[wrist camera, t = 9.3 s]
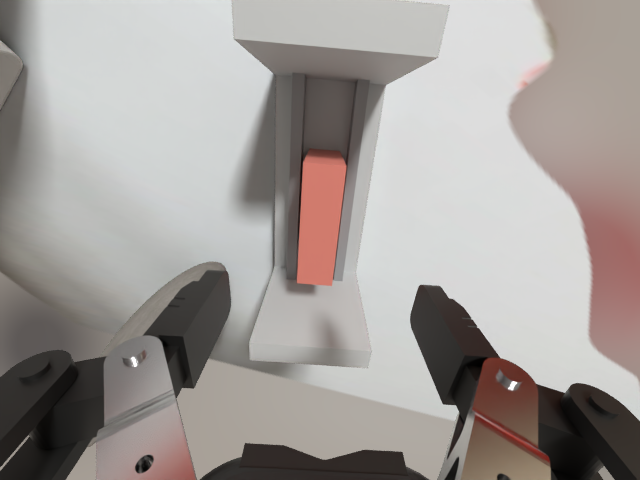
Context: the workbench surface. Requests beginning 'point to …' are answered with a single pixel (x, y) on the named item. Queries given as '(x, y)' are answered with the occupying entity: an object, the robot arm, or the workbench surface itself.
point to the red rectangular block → (320, 215)
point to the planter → (156, 307)
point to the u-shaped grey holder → (328, 134)
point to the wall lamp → (8, 71)
